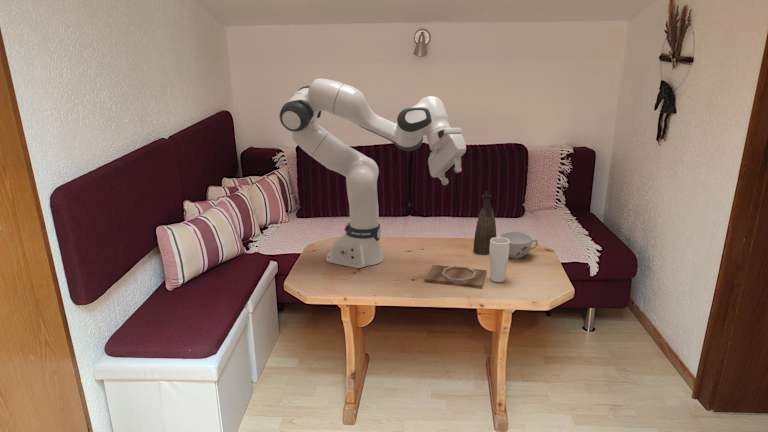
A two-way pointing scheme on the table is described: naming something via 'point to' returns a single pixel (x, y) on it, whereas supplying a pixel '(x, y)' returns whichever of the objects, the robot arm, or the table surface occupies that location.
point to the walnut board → (456, 276)
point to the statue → (484, 227)
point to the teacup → (519, 243)
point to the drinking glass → (498, 258)
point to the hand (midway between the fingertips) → (452, 178)
